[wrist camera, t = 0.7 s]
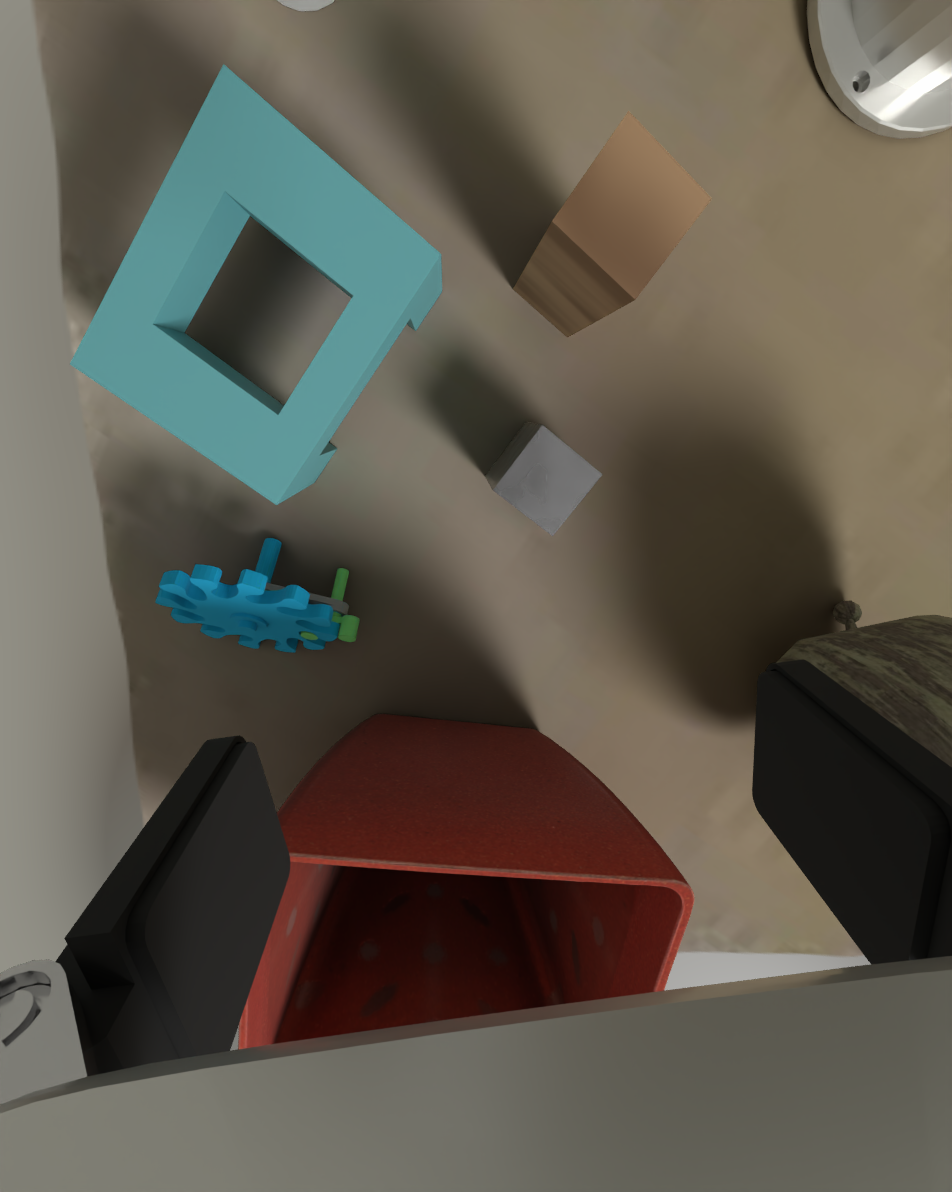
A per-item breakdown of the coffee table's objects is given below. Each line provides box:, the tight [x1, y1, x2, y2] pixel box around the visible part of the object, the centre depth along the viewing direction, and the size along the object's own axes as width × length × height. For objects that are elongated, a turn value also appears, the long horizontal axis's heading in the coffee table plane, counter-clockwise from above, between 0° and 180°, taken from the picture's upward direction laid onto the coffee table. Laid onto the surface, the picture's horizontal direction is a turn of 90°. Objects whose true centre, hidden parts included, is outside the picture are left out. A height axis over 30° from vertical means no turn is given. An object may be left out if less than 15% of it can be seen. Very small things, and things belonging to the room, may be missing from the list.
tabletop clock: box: [776, 601, 952, 767], centre depth 28 cm, size 14×9×25 cm, turn 11°
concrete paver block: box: [485, 422, 603, 536], centre depth 31 cm, size 4×4×6 cm
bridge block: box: [70, 64, 442, 505], centre depth 27 cm, size 13×10×8 cm
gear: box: [156, 538, 360, 653], centre depth 33 cm, size 11×6×10 cm
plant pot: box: [238, 714, 694, 1049], centre depth 33 cm, size 19×19×17 cm
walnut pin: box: [513, 111, 712, 337], centre depth 25 cm, size 4×4×12 cm
